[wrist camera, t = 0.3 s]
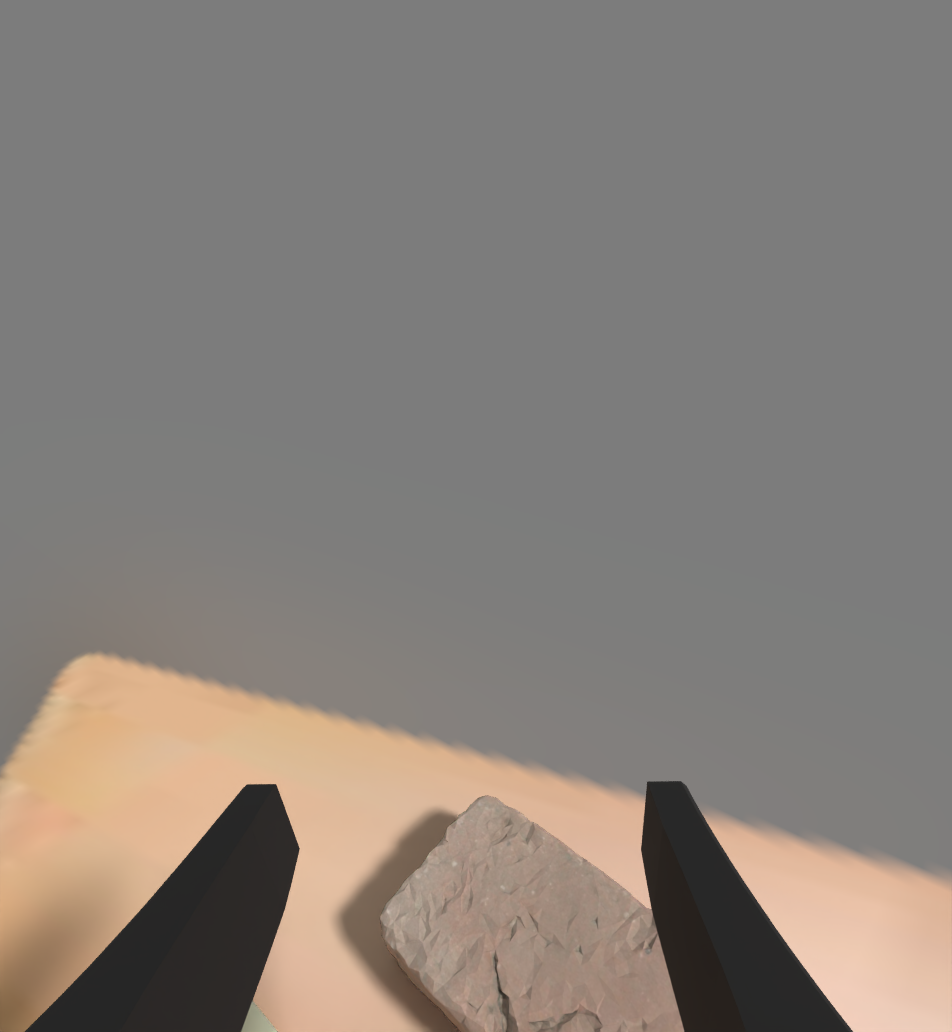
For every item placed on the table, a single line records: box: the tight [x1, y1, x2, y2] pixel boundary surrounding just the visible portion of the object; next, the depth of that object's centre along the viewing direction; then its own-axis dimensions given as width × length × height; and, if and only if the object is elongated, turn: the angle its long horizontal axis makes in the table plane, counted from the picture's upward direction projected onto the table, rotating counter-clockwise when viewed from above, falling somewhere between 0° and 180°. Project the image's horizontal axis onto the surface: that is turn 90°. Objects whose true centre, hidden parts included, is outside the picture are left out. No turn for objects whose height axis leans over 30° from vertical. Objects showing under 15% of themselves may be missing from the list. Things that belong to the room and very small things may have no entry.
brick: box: [380, 795, 684, 1032], centre depth 23 cm, size 17×8×5 cm, turn 50°
